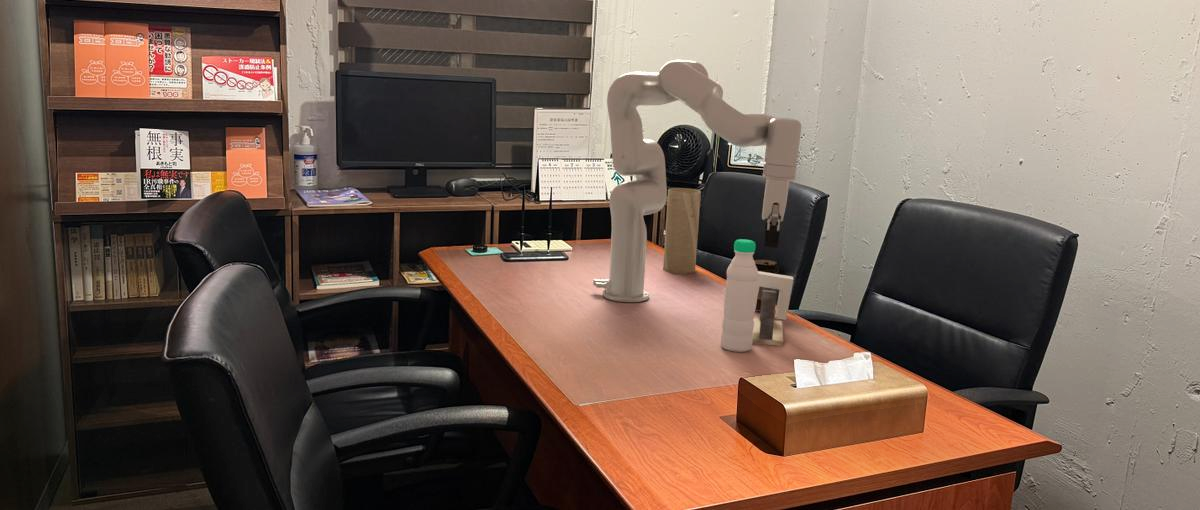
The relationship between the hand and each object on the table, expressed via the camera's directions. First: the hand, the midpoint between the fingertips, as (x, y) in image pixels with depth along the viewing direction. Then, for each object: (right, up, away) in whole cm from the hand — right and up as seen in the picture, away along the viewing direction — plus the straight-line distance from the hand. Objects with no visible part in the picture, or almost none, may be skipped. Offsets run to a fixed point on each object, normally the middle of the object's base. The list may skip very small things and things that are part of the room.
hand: (770, 242), depth 209 cm
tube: (-16, -8, +65) cm, 67 cm away
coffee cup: (+2, -18, +24) cm, 30 cm away
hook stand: (-1, -22, +3) cm, 22 cm away
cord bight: (-1, -17, +2) cm, 17 cm away
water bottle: (-10, -24, -9) cm, 28 cm away
